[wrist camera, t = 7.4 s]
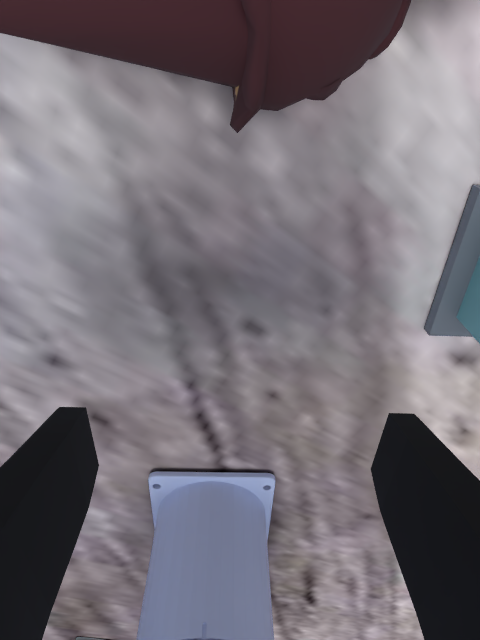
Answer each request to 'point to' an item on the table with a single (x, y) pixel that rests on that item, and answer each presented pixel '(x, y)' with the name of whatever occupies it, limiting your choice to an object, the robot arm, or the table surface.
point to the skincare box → (85, 639)
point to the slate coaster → (457, 273)
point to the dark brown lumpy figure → (223, 40)
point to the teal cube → (472, 305)
